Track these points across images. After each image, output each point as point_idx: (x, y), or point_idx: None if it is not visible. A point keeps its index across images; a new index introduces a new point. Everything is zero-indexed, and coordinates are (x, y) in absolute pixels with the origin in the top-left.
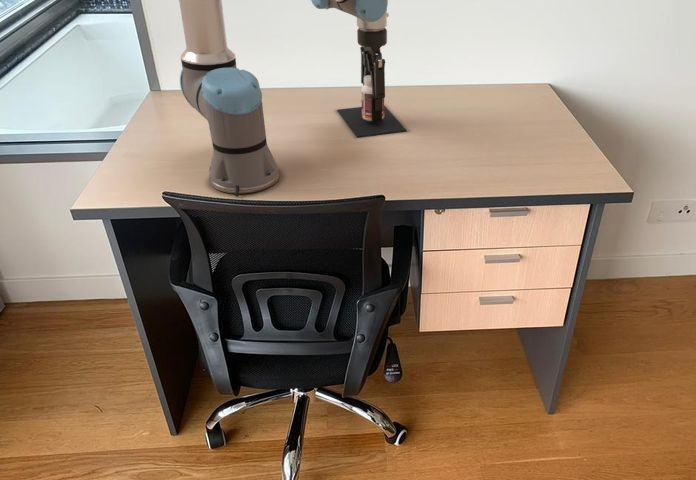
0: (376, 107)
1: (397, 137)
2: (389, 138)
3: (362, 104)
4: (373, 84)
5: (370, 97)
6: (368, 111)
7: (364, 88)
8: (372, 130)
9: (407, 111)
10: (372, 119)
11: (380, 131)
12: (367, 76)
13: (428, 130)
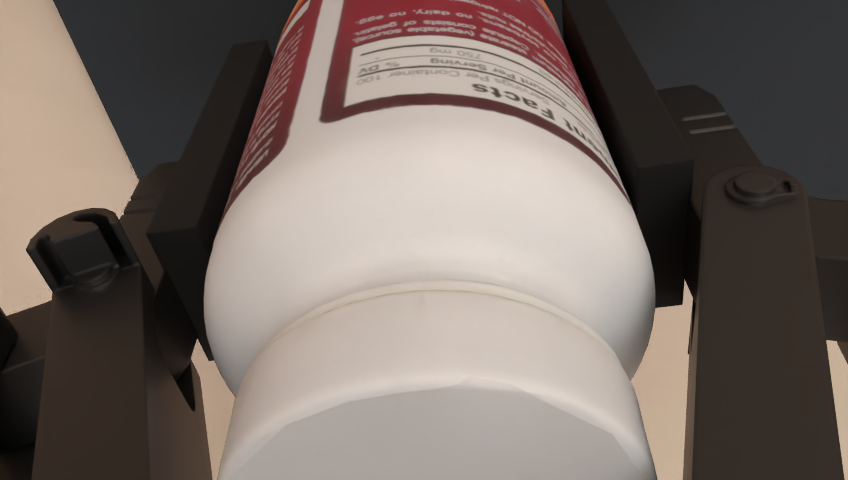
0: (136, 201)
1: (50, 208)
2: (10, 139)
3: (376, 9)
4: (40, 473)
5: (104, 220)
6: (276, 55)
7: (315, 212)
8: (158, 2)
9: (648, 356)
10: (226, 59)
11: (139, 84)
12: (555, 456)
13: (227, 415)
